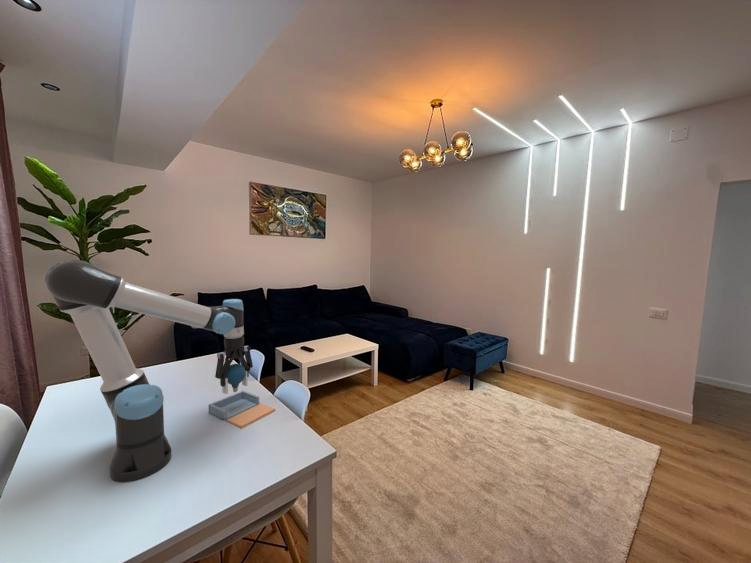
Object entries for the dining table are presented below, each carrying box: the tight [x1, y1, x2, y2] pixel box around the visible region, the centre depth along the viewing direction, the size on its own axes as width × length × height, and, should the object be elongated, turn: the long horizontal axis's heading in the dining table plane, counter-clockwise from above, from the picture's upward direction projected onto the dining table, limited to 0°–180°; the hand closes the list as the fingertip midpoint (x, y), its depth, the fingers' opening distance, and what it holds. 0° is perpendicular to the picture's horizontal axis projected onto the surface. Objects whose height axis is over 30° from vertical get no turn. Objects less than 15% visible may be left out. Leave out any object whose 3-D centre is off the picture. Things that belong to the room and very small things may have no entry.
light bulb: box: [226, 363, 246, 393], centre depth 127 cm, size 8×8×12 cm
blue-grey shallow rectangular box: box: [208, 390, 260, 422], centre depth 128 cm, size 16×11×4 cm
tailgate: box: [225, 403, 276, 429], centre depth 122 cm, size 16×1×10 cm
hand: (235, 389), depth 127 cm, fingers closed on light bulb, 8 cm apart
